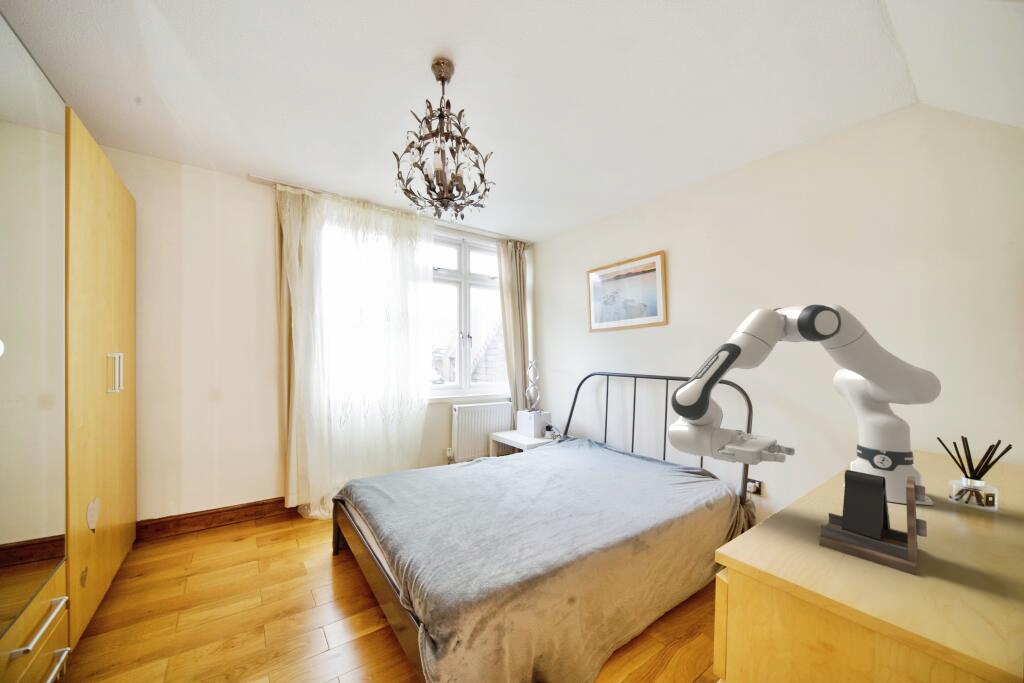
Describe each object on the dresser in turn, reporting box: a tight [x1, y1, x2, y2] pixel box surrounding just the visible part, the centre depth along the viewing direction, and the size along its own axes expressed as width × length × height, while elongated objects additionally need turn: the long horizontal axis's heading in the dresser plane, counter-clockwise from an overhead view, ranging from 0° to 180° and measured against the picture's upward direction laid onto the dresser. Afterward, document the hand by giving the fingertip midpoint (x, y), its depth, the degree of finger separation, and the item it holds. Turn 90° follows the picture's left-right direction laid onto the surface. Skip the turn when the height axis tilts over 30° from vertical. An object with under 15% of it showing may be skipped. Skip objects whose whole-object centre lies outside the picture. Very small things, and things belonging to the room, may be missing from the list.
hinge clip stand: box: [818, 476, 928, 576], centre depth 77 cm, size 15×15×16 cm
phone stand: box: [842, 469, 891, 541], centre depth 78 cm, size 9×6×12 cm, turn 124°
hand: (790, 455), depth 90 cm, fingers open, 8 cm apart
